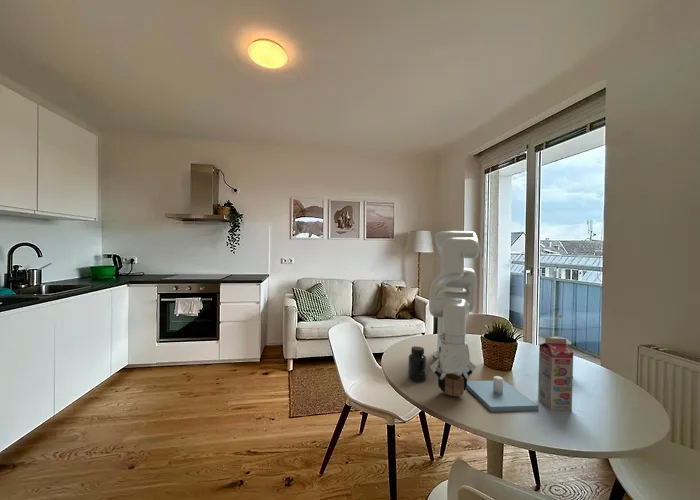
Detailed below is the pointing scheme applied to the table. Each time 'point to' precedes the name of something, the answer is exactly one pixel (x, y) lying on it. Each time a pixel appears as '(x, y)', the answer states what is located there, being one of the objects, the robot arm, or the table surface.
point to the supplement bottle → (417, 365)
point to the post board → (500, 395)
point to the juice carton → (555, 374)
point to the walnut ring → (454, 384)
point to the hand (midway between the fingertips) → (452, 388)
